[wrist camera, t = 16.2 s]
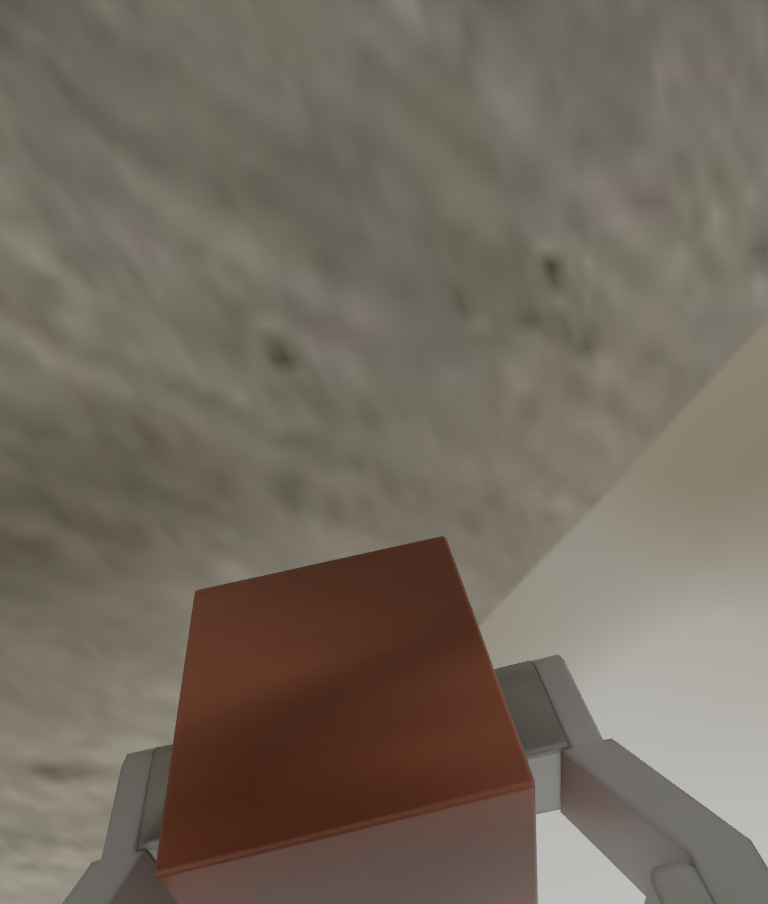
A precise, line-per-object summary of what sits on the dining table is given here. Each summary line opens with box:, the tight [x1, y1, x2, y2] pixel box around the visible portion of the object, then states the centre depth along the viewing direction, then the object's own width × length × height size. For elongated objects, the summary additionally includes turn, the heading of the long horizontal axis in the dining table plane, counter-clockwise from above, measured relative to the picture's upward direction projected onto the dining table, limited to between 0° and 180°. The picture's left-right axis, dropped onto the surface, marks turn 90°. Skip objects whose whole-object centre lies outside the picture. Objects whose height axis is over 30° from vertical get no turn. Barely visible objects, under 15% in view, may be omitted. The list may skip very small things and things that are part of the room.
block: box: [155, 536, 538, 904], centre depth 10 cm, size 5×5×5 cm
